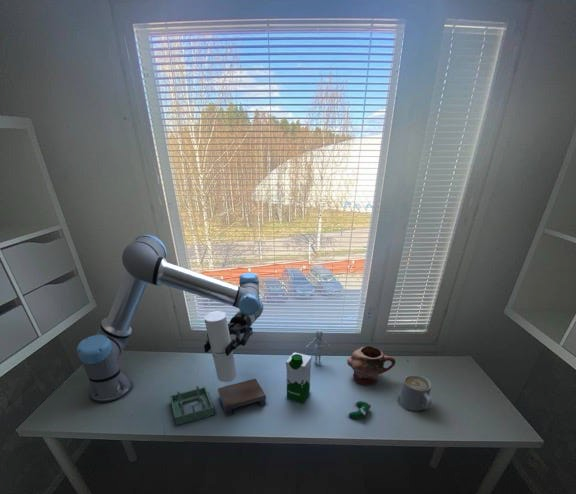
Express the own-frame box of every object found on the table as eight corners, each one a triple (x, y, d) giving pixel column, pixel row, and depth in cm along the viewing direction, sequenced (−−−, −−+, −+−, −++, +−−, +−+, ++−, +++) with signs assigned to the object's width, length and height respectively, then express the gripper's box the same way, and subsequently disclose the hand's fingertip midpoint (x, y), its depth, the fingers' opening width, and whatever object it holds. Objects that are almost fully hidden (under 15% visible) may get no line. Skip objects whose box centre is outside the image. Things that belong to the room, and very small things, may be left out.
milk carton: (283, 399, 130) (283, 357, 119) (293, 386, 137) (293, 346, 126) (304, 405, 127) (305, 363, 116) (312, 392, 134) (314, 351, 123)
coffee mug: (395, 395, 132) (399, 375, 126) (418, 393, 133) (423, 373, 127) (409, 418, 121) (415, 397, 115) (434, 415, 122) (441, 395, 116)
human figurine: (329, 362, 152) (332, 328, 142) (330, 366, 149) (333, 332, 139) (304, 362, 152) (305, 328, 142) (304, 367, 149) (305, 332, 139)
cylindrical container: (232, 383, 117) (220, 322, 102) (214, 380, 119) (200, 320, 103) (239, 371, 122) (229, 311, 107) (222, 369, 124) (209, 310, 109)
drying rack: (171, 402, 129) (167, 388, 125) (206, 393, 133) (204, 379, 130) (176, 425, 118) (172, 410, 114) (214, 414, 123) (212, 400, 119)
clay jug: (386, 370, 147) (392, 343, 139) (395, 386, 137) (401, 359, 129) (343, 371, 146) (346, 344, 138) (348, 387, 136) (351, 360, 128)
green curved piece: (353, 423, 121) (365, 418, 117) (347, 415, 121) (359, 410, 117) (362, 409, 128) (374, 404, 124) (356, 401, 127) (368, 396, 123)
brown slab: (219, 397, 131) (217, 388, 128) (256, 387, 136) (255, 378, 134) (226, 416, 122) (225, 406, 119) (266, 405, 127) (265, 395, 124)
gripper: (266, 333, 127) (244, 364, 109) (220, 326, 132) (191, 355, 113) (265, 315, 123) (242, 344, 105) (218, 309, 127) (187, 336, 109)
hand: (216, 350), depth 109 cm, fingers closed on cylindrical container, 7 cm apart
